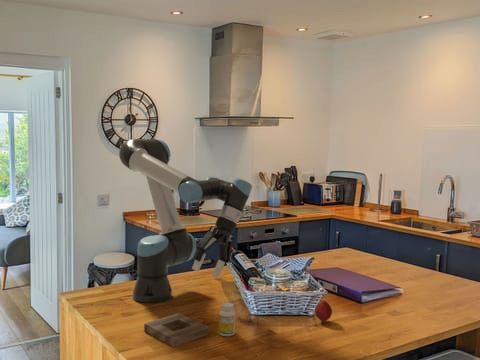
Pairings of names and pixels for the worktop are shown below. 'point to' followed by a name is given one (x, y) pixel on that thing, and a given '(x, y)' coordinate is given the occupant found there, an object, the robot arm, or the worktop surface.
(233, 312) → the supplement bottle
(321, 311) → the onion
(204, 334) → the socket block
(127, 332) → the worktop surface
